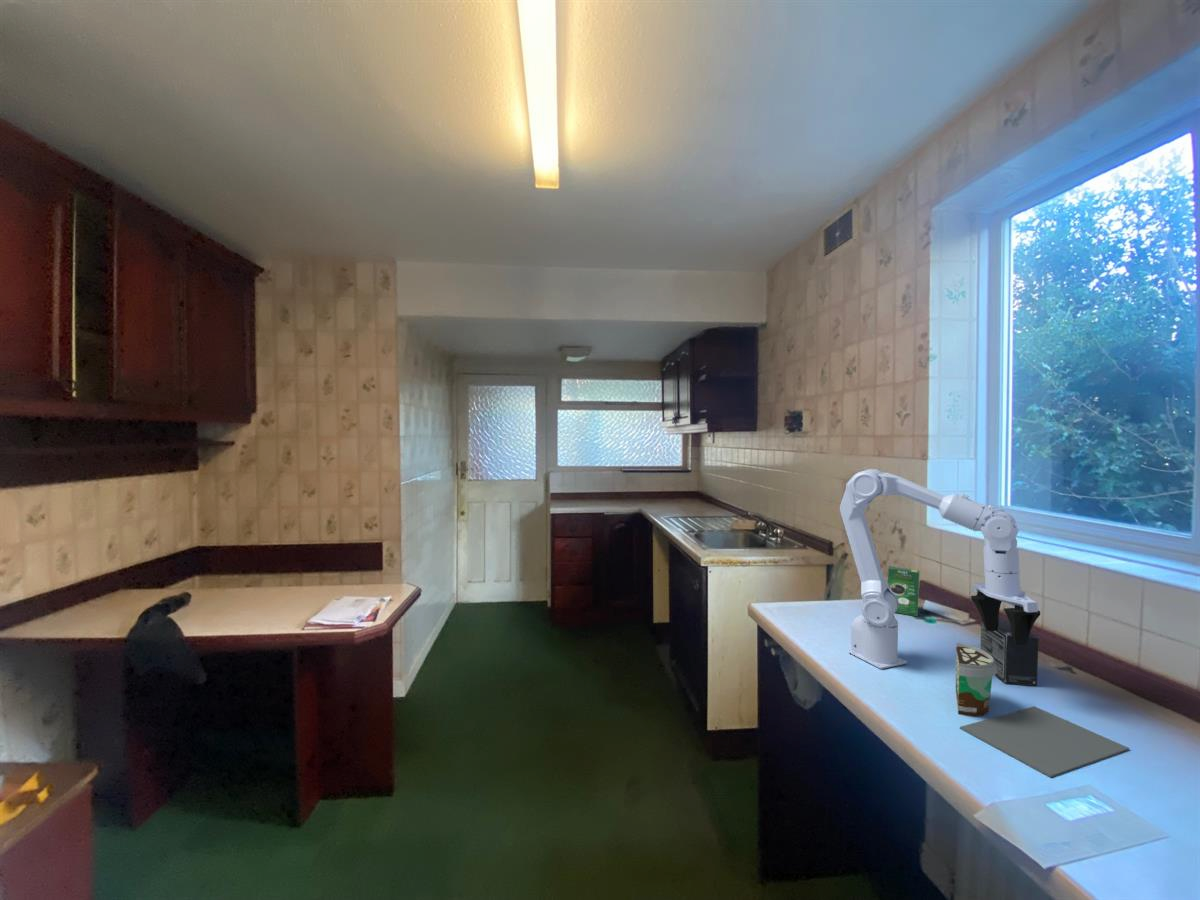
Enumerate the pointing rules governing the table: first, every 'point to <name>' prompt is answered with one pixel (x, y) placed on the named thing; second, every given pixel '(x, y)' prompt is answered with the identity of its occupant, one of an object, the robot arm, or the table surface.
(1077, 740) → the mat
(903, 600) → the coffee box
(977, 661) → the food container
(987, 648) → the small box
